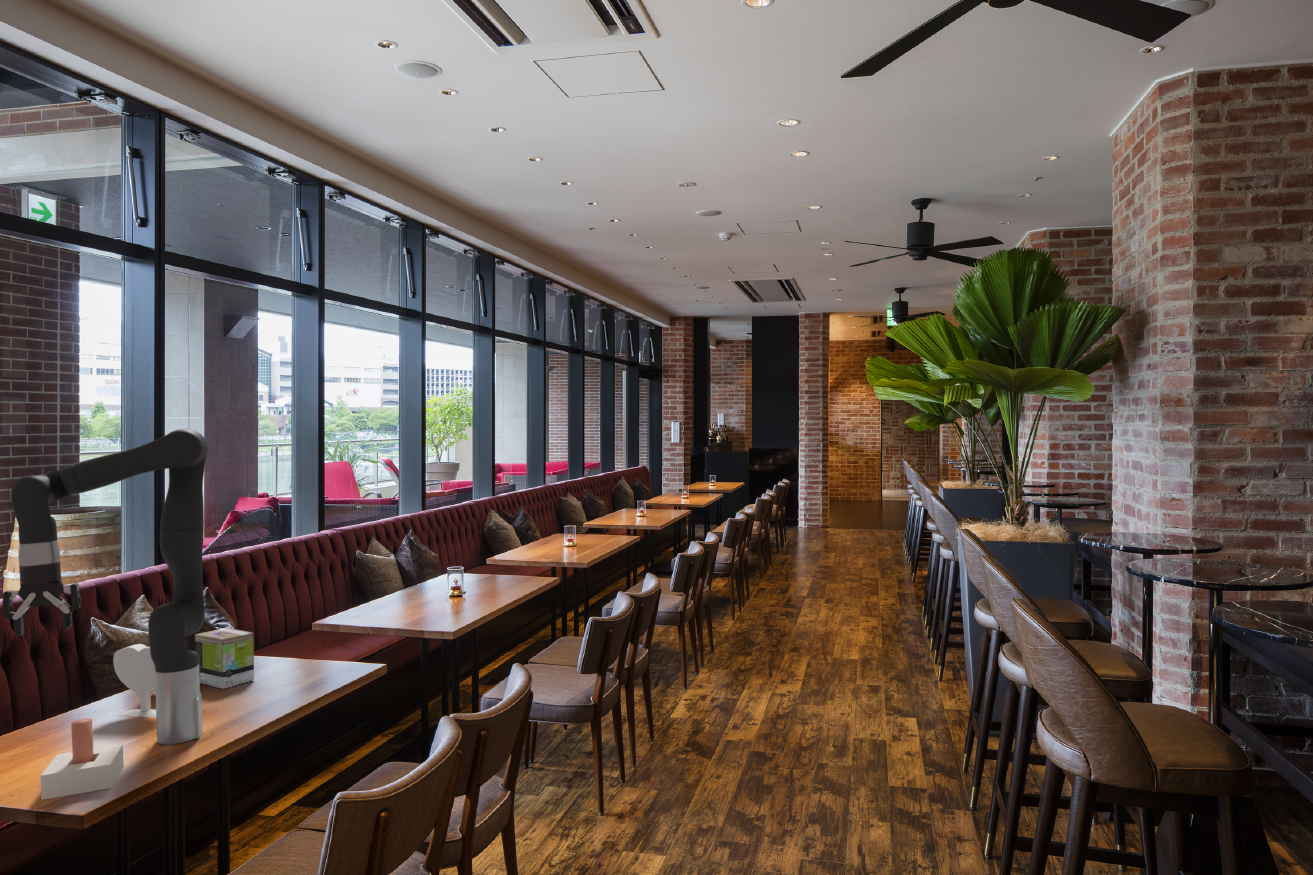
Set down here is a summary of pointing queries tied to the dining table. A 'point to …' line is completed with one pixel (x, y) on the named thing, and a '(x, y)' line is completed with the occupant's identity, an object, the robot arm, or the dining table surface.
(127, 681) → the heart sculpture
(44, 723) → the dining table surface
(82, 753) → the pin
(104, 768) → the block
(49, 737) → the dining table surface
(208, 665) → the tea box
